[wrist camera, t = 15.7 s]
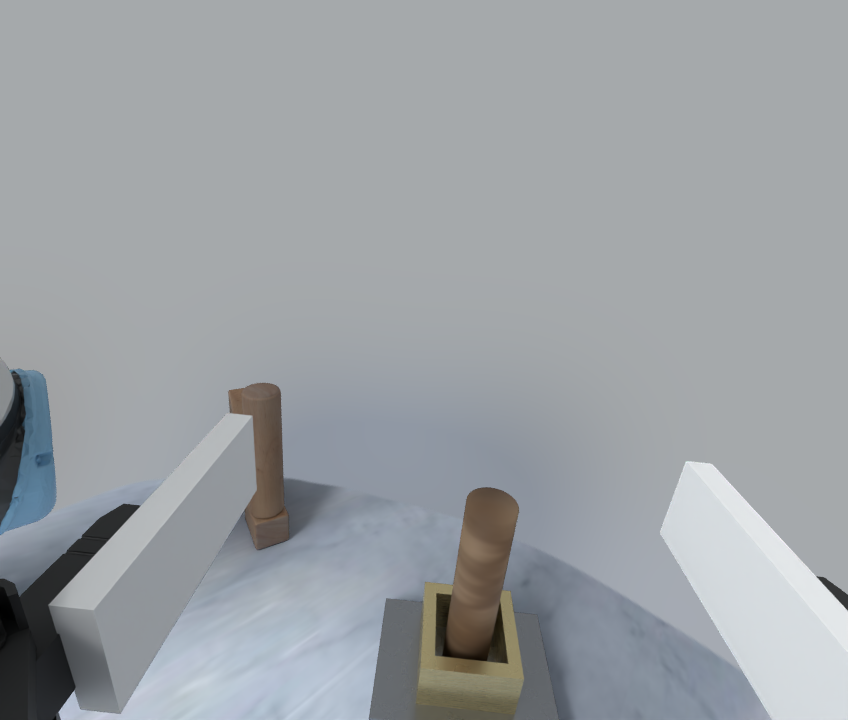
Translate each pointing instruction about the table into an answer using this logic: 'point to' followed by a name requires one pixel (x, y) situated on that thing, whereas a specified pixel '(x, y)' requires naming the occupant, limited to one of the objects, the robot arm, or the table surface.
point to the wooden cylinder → (480, 573)
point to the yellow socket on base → (459, 666)
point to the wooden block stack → (264, 462)
